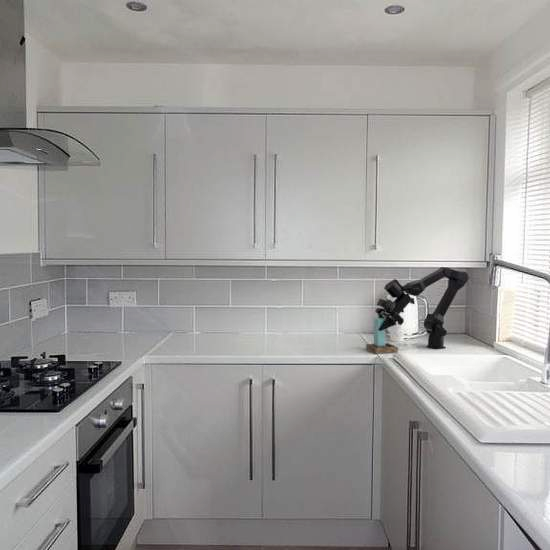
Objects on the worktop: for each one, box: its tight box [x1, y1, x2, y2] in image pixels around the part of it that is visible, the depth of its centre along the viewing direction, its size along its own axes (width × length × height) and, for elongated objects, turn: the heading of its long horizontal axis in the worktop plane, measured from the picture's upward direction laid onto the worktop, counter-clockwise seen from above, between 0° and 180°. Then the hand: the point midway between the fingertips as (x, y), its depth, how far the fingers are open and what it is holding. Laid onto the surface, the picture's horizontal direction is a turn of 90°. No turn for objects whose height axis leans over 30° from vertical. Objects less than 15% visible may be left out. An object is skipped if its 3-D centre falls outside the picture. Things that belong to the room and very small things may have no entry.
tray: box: [365, 342, 399, 355], centre depth 237 cm, size 11×10×2 cm
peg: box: [373, 317, 386, 346], centre depth 237 cm, size 4×4×12 cm
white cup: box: [388, 320, 406, 343], centre depth 262 cm, size 8×8×10 cm
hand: (376, 329), depth 236 cm, fingers closed on peg, 4 cm apart
